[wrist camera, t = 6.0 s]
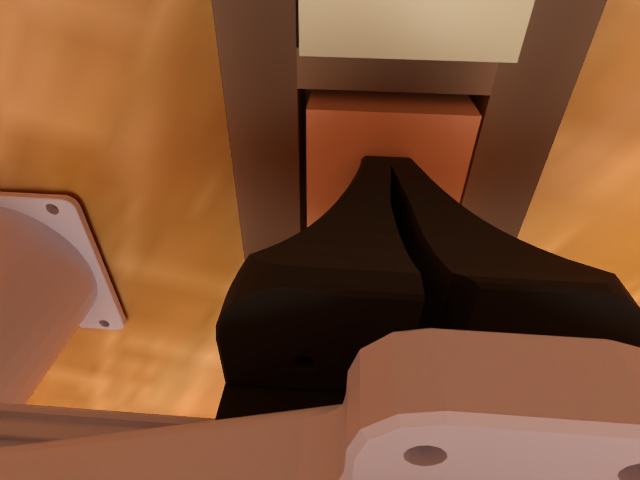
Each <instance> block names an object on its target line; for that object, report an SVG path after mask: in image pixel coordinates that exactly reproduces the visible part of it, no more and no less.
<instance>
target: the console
mask: <svg viewBox="0 0 640 480" xmlns="http://www.w3.org/2000/svg"><path fill="white" fill-rule="evenodd" d="M606 2H607V0H535V2H534V6H533V9H532V13H531V16H530V20H529V23H528V27H527V30H526V34H525V37H524V41H523V44H522V48H521V51H520V55H519V58H518V62H517V63H503V62H472V61H441V60H409V59H378V58H347V57H316V56H299V10H298V0H212V8H213V16H214V23H215V31H216V39H217V47H218V55H219V62H220V70H221V78H222V86H223V94H224V101H225V109H226V117H227V125H228V133H229V140H230V148H231V156H232V164H233V172H234V179H235V187H236V195H237V203H238V211H239V218H240V226H241V234H242V242H243V250H244V257H245V260H246V258H247V257H248V255H249V254H252V253H255V252H257V251H260V250H262V249H265V248H268V247H270V246H273V245H275V244H278V243H280V242H282V241H284V240H286V239H288V238H290V237H292V236H294V235H296V234H297V233H299V232H301V231H303V230H304V229H306V228H307V156H306V108H307V104H308V101H309V97H310V93H311V90H312V89H325V90H353V91H381V92H409V93H437V94H465V95H469V97H470V99H471V100H472V102H473V103H474V105H475V106H476V108H477V110H478V111H479V113H480V114H481V116H482V117H481V121H480V125H479V129H478V133H477V137H476V140H475V144H474V148H473V152H472V156H471V160H470V164H469V168H468V172H467V176H466V179H465V183H464V187H463V191H462V195H461V199H460V204H461V205H462V206H464V207H465V208H466V209H468V210H469V211H471V212H472V213H473V214H475V215H477V216H478V217H480V218H481V219H483V220H484V221H486V222H488V223H489V224H491V225H493V226H494V227H496V228H498V229H500V230H502V231H504V232H506V233H508V234H510V235H512V236H513V237H515V238H517V236H518V234H519V231H520V228H521V226H522V223H523V220H524V218H525V215H526V212H527V210H528V207H529V205H530V202H531V199H532V197H533V194H534V191H535V189H536V186H537V183H538V181H539V178H540V176H541V173H542V170H543V168H544V165H545V162H546V160H547V157H548V155H549V152H550V149H551V147H552V144H553V141H554V139H555V136H556V133H557V131H558V128H559V126H560V123H561V120H562V118H563V115H564V112H565V110H566V107H567V104H568V102H569V99H570V97H571V94H572V91H573V89H574V86H575V83H576V81H577V78H578V75H579V73H580V70H581V68H582V65H583V62H584V60H585V57H586V54H587V52H588V49H589V46H590V44H591V41H592V39H593V36H594V33H595V31H596V28H597V25H598V23H599V20H600V17H601V15H602V12H603V10H604V7H605V4H606Z"/></svg>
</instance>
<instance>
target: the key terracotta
mask: <svg viewBox="0 0 640 480" xmlns="http://www.w3.org/2000/svg"><path fill="white" fill-rule="evenodd" d="M481 117H482V116H481V114H480V113H479V111H478V110H477V108H476V106H475V105H474V103H473V102H472V100H471V99H470V97H469V95H465V94H437V93H409V92H381V91H353V90H325V89H312V90H311V93H310V97H309V101H308V104H307V108H306V156H307V227H309V226H310V225H311V224H313V223H314V222H315V221H316V220H318V219H319V218H320V217H321V216H322V215H323V214H325V213H326V212H327V211H328V210H329V209H330V208H331V207H332V206H333V205H334V204H335V202H336V201H337V200H338V199H339V198H340V196H341V195H342V194H343V193H344V191H345V190H346V189H347V187H348V186H349V184H350V183H351V181H352V180H353V178H354V176H355V175H356V173H357V171H358V169H359V167H360V164H361V159H362V158H363V157H365V156H385V157H409V158H411V159H412V160H413V161H414V162H415V163H416V164H417V165H418V166H419V167H420V168H421V169H422V170H423V171H424V172H425V173H426V174H427V175H428V176H429V177H430V178H431V179H432V180H433V181H434V182H435V183H436V184H437V185H438V186H439V187H441V188H442V189H443V190H444V191H445V192H446V193H447V194H448V195H450V196H451V197H452V198H453V199H455V200H456V201H457V202H458V203H460V199H461V195H462V191H463V187H464V183H465V179H466V176H467V172H468V168H469V164H470V160H471V156H472V152H473V148H474V144H475V140H476V137H477V133H478V129H479V125H480V121H481Z"/></svg>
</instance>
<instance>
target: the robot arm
mask: <svg viewBox="0 0 640 480" xmlns="http://www.w3.org/2000/svg"><path fill="white" fill-rule="evenodd" d="M52 204H53V205H55V206H56V207H57V208H58V209H57V208H55V207H54V206H53V205H52ZM126 322H127V321H126V318H125V315H124V313H123V310H122V308H121V305H120V303H119V300H118V298H117V295H116V293H115V290H114V288H113V285H112V283H111V280H110V278H109V275H108V273H107V270H106V268H105V265H104V263H103V261H102V258H101V256H100V253H99V251H98V248H97V246H96V243H95V241H94V238H93V236H92V233H91V231H90V228H89V226H88V223H87V221H86V218H85V216H84V213H83V211H82V208H81V206H80V204H79V203H78V201H77V200H75V199H74V198H72V197H71V196H67V195H57V194H37V193H17V192H0V480H640V307H639V306H638V305H637V303H636V302H635V301H634V299H633V298H632V296H631V295H630V294H629V292H628V291H627V290H626V288H625V287H624V286H623V284H622V283H621V281H620V280H619V279H618V278H617V276H616V275H615V274H613V273H610V272H607V271H603V270H600V269H597V268H594V267H591V266H587V265H584V264H581V263H578V262H575V261H572V260H568V259H565V258H563V257H560V256H557V255H555V254H552V253H550V252H547V251H545V250H542V249H540V248H537V247H535V246H533V245H530V244H528V243H526V242H524V241H521V240H519V239H517V238H515V237H513V236H512V235H510V234H508V233H506V232H504V231H502V230H500V229H498V228H496V227H494V226H493V225H491V224H489V223H488V222H486V221H484V220H483V219H481V218H480V217H478V216H477V215H475V214H473V213H472V212H471V211H469V210H468V209H466V208H465V207H464V206H462V205H461V204H460V203H458V202H457V201H456V200H455V199H453V198H452V197H451V196H450V195H448V194H447V193H446V192H445V191H444V190H443V189H442V188H441V187H439V186H438V185H437V184H436V183H435V182H434V181H433V180H432V179H431V178H430V177H429V176H428V175H427V174H426V173H425V172H424V171H423V170H422V169H421V168H420V167H419V166H418V165H417V164H416V163H415V162H414V161H413V160H412V159H411V158H409V157H385V156H365V157H363V158H362V159H361V164H360V167H359V169H358V171H357V173H356V175H355V176H354V178H353V180H352V181H351V183H350V184H349V186H348V187H347V189H346V190H345V191H344V193H343V194H342V195H341V196H340V198H339V199H338V200H337V201H336V202H335V204H334V205H333V206H332V207H331V208H330V209H329V210H328V211H327V212H326V213H325V214H323V215H322V216H321V217H320V218H319V219H318V220H316V221H315V222H314V223H313V224H311V225H310V226H309V227H307V228H306V229H304V230H303V231H301V232H299V233H297V234H296V235H294V236H292V237H290V238H288V239H286V240H284V241H282V242H280V243H278V244H275V245H273V246H270V247H268V248H265V249H262V250H260V251H257V252H255V253H252V254H249V255H248V257H247V258H246V260H245V261H244V263H243V265H242V266H241V268H240V270H239V271H238V273H237V275H236V277H235V279H234V281H233V282H232V284H231V286H230V288H229V291H228V293H227V295H226V298H225V301H224V303H223V306H222V309H221V312H220V315H219V318H218V321H217V324H216V341H217V346H218V350H219V355H220V360H221V364H222V369H223V373H224V378H225V387H224V390H223V394H222V398H221V401H220V405H219V408H218V412H217V415H216V419H211V418H198V417H185V416H171V415H158V414H145V413H132V412H118V411H105V410H92V409H79V408H65V407H52V406H39V405H25V404H26V402H27V401H28V399H29V398H30V396H31V395H32V394H33V392H34V391H35V389H36V388H37V386H38V385H39V383H40V382H41V380H42V379H43V378H44V376H45V375H46V373H47V372H48V370H49V369H50V367H51V366H52V364H53V363H54V362H55V360H56V359H57V357H58V356H59V354H60V353H61V351H62V350H63V349H64V347H65V346H66V344H67V343H68V341H69V340H70V338H71V337H72V335H73V334H74V333H75V331H76V330H77V328H78V327H79V328H94V329H110V330H121V329H123V327H124V326H125V324H126Z"/></svg>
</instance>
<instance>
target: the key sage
mask: <svg viewBox="0 0 640 480" xmlns="http://www.w3.org/2000/svg"><path fill="white" fill-rule="evenodd" d="M534 2H535V0H298V10H299V56H316V57H347V58H378V59H409V60H441V61H472V62H503V63H517V62H518V58H519V55H520V51H521V48H522V44H523V41H524V37H525V34H526V30H527V27H528V23H529V20H530V16H531V13H532V9H533V6H534Z"/></svg>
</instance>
